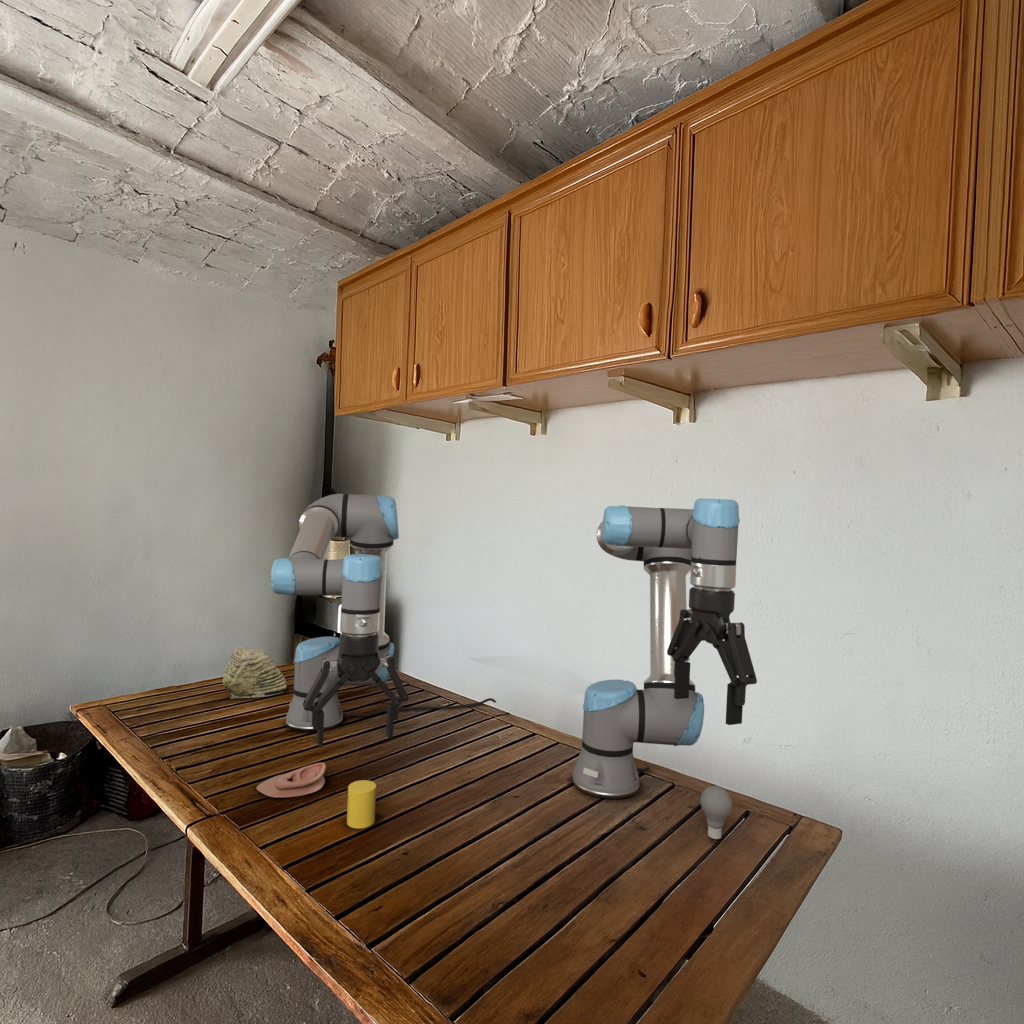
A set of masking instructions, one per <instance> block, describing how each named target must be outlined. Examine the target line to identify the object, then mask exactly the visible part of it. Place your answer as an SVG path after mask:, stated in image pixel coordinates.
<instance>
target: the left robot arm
mask: <svg viewBox="0 0 1024 1024" xmlns="http://www.w3.org/2000/svg"><path fill="white" fill-rule="evenodd" d="M397 509H398V508H397V501H396V500H395V498H394V497H392V496H387V495H380V494H352V493H351V494H350V493H349V494H347V493H346V494H345V493H334V494H329V495H326V496H324V497H321V498H318V499H317V500H316V501H314V502H312V503H311V504H309V505H308V506H307V507H306V508H305V509H304V510H303V512H302V514H301V516H300V518H299V520H298V522H299V523H298V528H299V532H298V534H297V537H296V539H295V541H294V543H293V546H292V549H291V551H290V554H289V556H288V557H285V558H276V559H275V560H274V561H273V562H272V566H271V571H270V587H271V590H272V593H274V594H276V595H285V596H290V597H292V596H336V597H337V596H339V597H340V596H341V607H340V621H339V631H340V633H341V634H340V635H339V637H337V636H320V637H314V638H310V639H306V640H303V641H302V642H299V643H298V645H296V648H295V655H294V660H293V663H294V672H293V673H294V674H293V675H294V679H293V695H292V696H293V697H292V699H291V702H289V708H288V711H287V713H286V715H285V726H286V728H287V729H289V730H291V731H294V732H295V731H296V732H301V733H316V745H317V747H318V749H319V748H320V749H321V748H324V732H325V731H329V730H332V729H335V728H337V727H339V726H340V725H342V723H343V722H344V716H346V717H347V716H349V717H352V716H353V717H370V716H374V715H378V714H382V713H386V721H385V735H386V737H387V738H388V739H389V740H393V739H394V722H395V721H398V719H399V712H400V711H412V710H413V711H414V710H415V711H416V710H448V709H459V708H460V709H461V708H470V707H475V706H480V705H483V704H485V703H487V702H493V703H495V704H496V703H497V700H495V699H494V698H492V697H489V698H486V699H484V700H481V701H479V702H478V701H477V702H473V703H466V704H465V703H464V704H458V705H437V706H436V705H435V706H408V707H407V706H405V707H400V706H401V704H402V703H403V702H408V700H409V696H408V693H407V691H406V689H405V687H404V685H403V682H402V680H401V678H400V676H399V674H398V672H397V669H396V668H395V667H396V666H395V658H394V653H395V652H394V651H395V643H393V642H391V641H390V636H389V635H388V634H387V633H386V632H385V620H386V619H385V618H386V596H387V595H386V593H387V573H388V571H387V570H388V569H387V568H388V552H389V550H390V549H391V548H392V547H393V546H394V541H396V540H398V539H399V538H400V532H399V521H398V511H397ZM333 538H347V539H349V546H350V547H352V549H353V550H354V553H351V554H347V555H345V556H344V558H343V559H326V558H327V555H328V551H329V548H330V543H331V541H332V539H333ZM389 680H391V681H392V683H393V685H394V687H395V689H396V692H397V695H395V694H394V692H393V691H392V690H391V688H389V687H388V685H387V683H388V682H389ZM342 686H370V687H373V686H377V687H379V688H380V690H381V691H382V692H383V694H384V695H385V696H386V697H387V698H388V699H389V700H390V702H389V701H388V702H386V708H385V709H384V708H383V709H379V710H376V711H372V712H367V713H357V712H343V709H342V706H341V702H340V699H339V695H338V691H339V690H340V689H341V688H342Z"/></svg>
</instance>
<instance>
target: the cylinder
mask: <svg viewBox="0 0 1024 1024" xmlns="http://www.w3.org/2000/svg"><path fill="white" fill-rule="evenodd" d="M376 799H377V784H376V783H375V782H374V781H373V780H366V779H361V780H355V781H353V782H350V784H348V786H347V805H346V807H347V809H346V825H347V826H348V827H349V828H352V829H356V830H357V829H360V830H361V829H366V828H368V827H371V826H372V825H373V824H374V823H375V821H376V801H377V800H376Z"/></svg>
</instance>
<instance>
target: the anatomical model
mask: <svg viewBox="0 0 1024 1024" xmlns="http://www.w3.org/2000/svg"><path fill="white" fill-rule="evenodd" d="M326 768H327V765H326V763H325V762H316V763H313V764H309V765H306V766H302V767H300V768H297V769H294V770H292V771H289V772H286V773H282V774H278V775H275V776H273V777H270V778H267V779H265V780H264V781H262V782H261V783H259V784H258V785H256V790H257V792H259V793H261V794H263V795H264V796H267V797H270V798H275V799H278V798H293V797H294V798H295V797H300V796H301V797H302V796H306V795H309V794H312V793H315V792H318V791H320V790H321V789H322V788H323V787H324V785H325V783H326V778H325V777H324V775H325V772H326V770H327V769H326Z"/></svg>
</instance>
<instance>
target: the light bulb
mask: <svg viewBox="0 0 1024 1024" xmlns="http://www.w3.org/2000/svg"><path fill="white" fill-rule="evenodd" d="M699 802H700V808H701V809H702V810H703V814H704V815H705V818H706V820H705V821H706V823H707V836H708V837H709V838H711V839H712V840H720V839H721V838H722V835H723V834H722V833H723V832H722V831H723V830H722V829H723V827H724V825H725V821H726V819H727V818H728V817H729V816H730V814H731V812H732V809H733V804H734V803H733V800H732V797H731V795H730V793H729V792H728V791H727V790H726V789H725V788H724V787H722V786H719V785H710V786H707V787H706V788H705V789H704V790H703V791H702V792H701V795H700V798H699Z"/></svg>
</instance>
